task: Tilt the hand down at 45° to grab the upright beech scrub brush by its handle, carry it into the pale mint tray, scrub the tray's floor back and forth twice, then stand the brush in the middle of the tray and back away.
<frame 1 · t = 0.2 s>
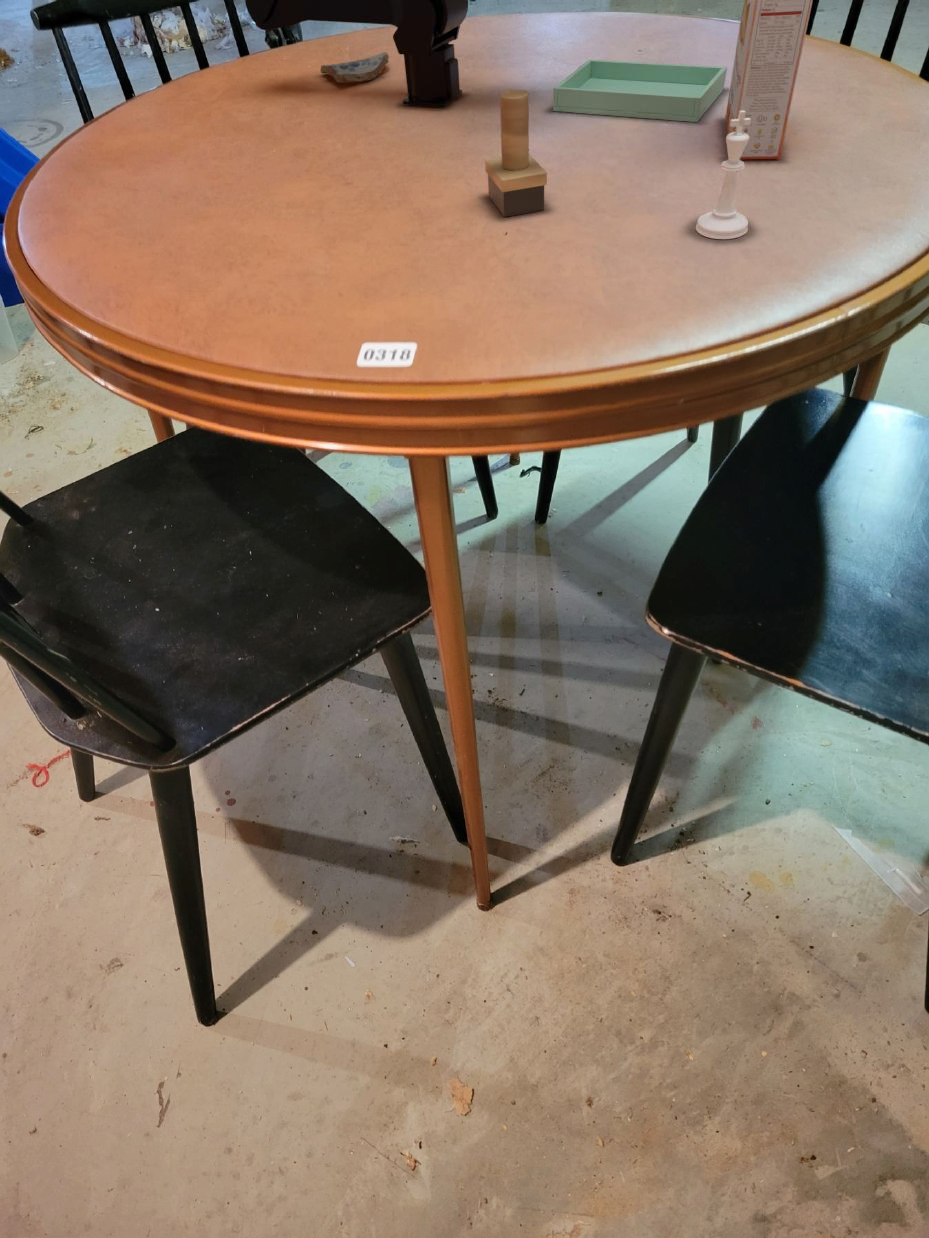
cracker box: (749, 141, 91), on the table
chess piece: (721, 231, 76), on the table
ceramic fragment: (360, 78, 119), on the table
scrub brush: (515, 203, 83), on the table
tray: (638, 100, 103), on the table
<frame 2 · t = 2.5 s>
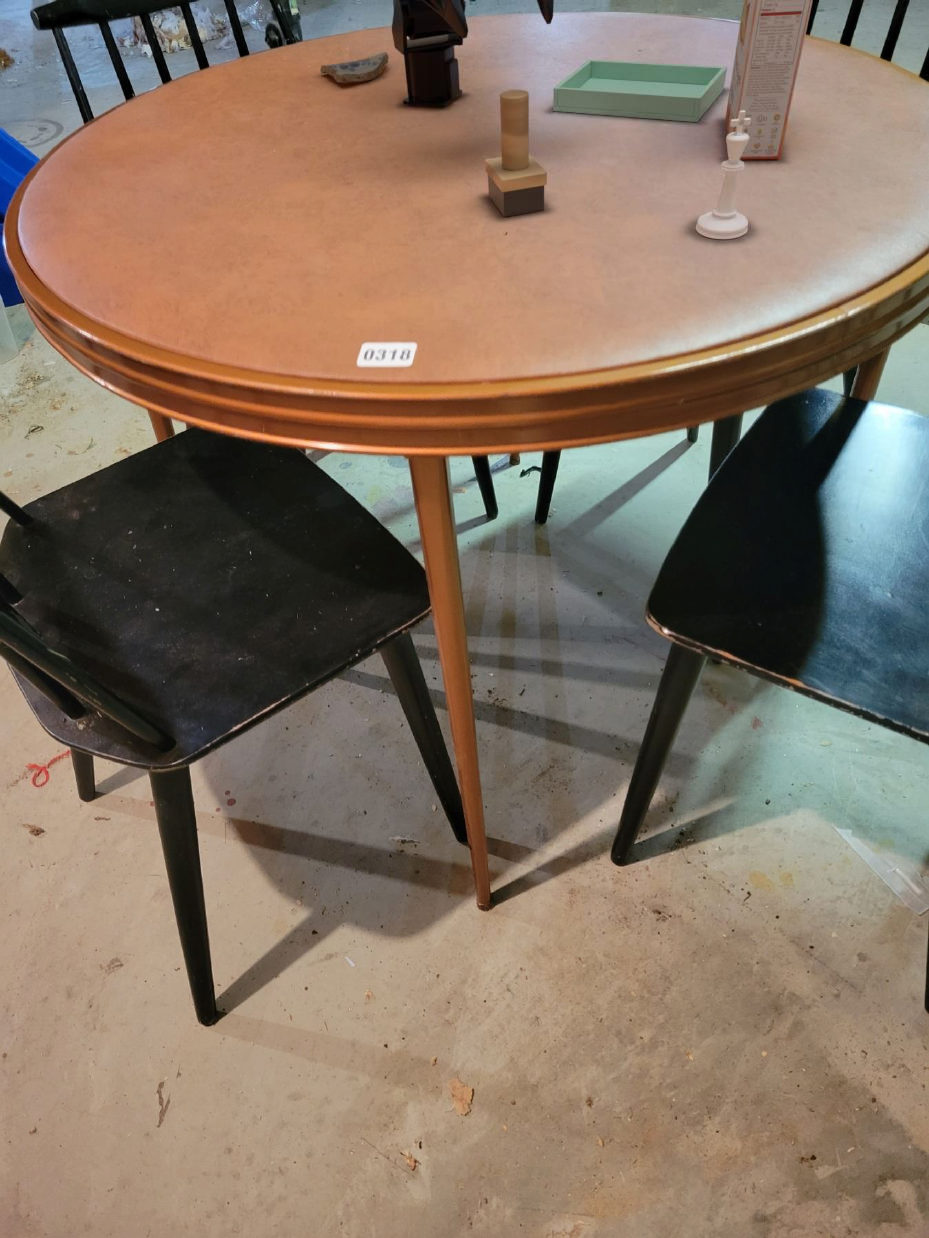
hand: (508, 28, 79), 14 cm above the table, tool tilted 50°, fingers open, 9 cm apart
nothing on the table moved.
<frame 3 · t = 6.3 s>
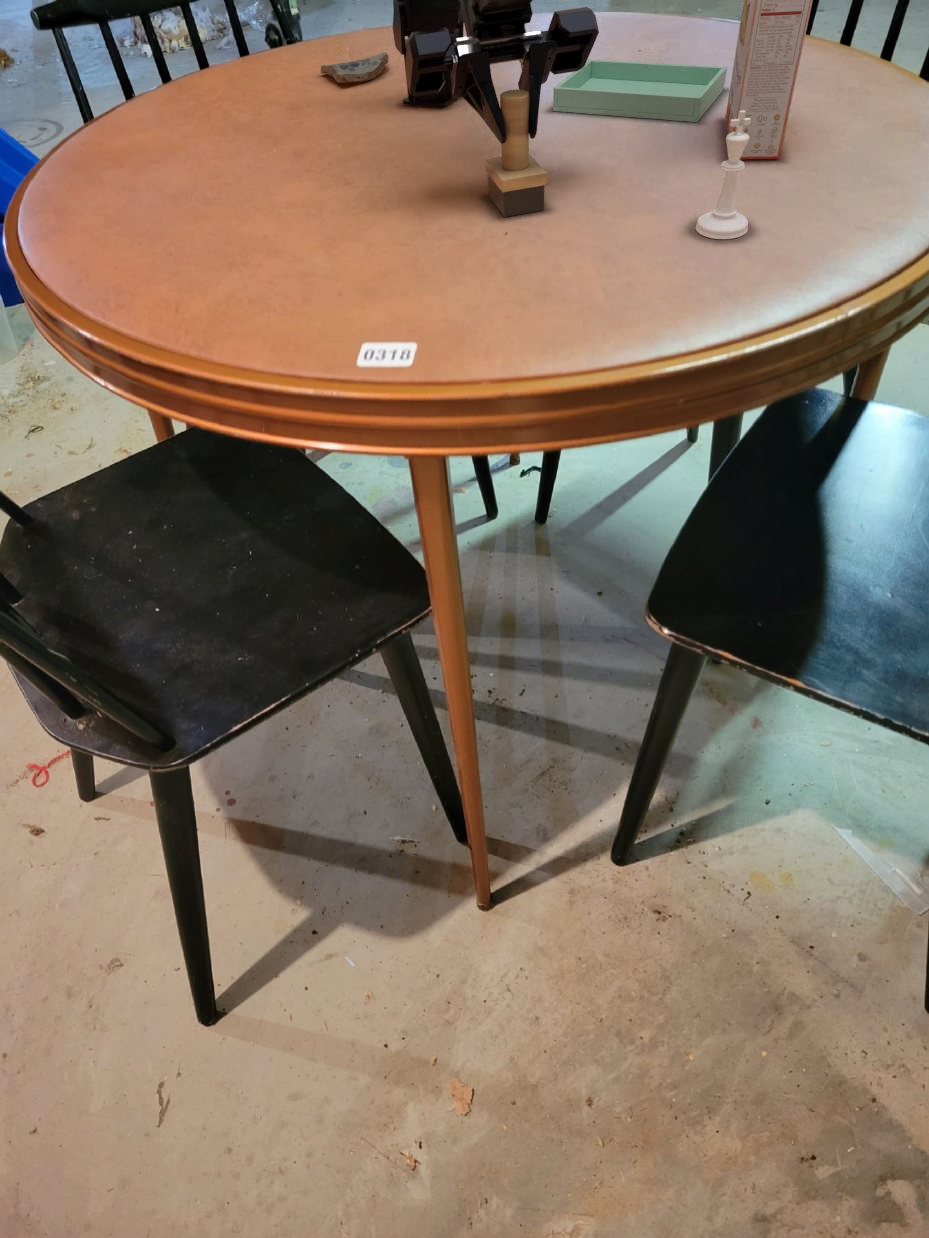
hand: (518, 139, 77), 7 cm above the table, tool tilted 45°, fingers closed on scrub brush, 3 cm apart
scrub brush: (515, 203, 83), on the table, touching gripper
everything else where it was.
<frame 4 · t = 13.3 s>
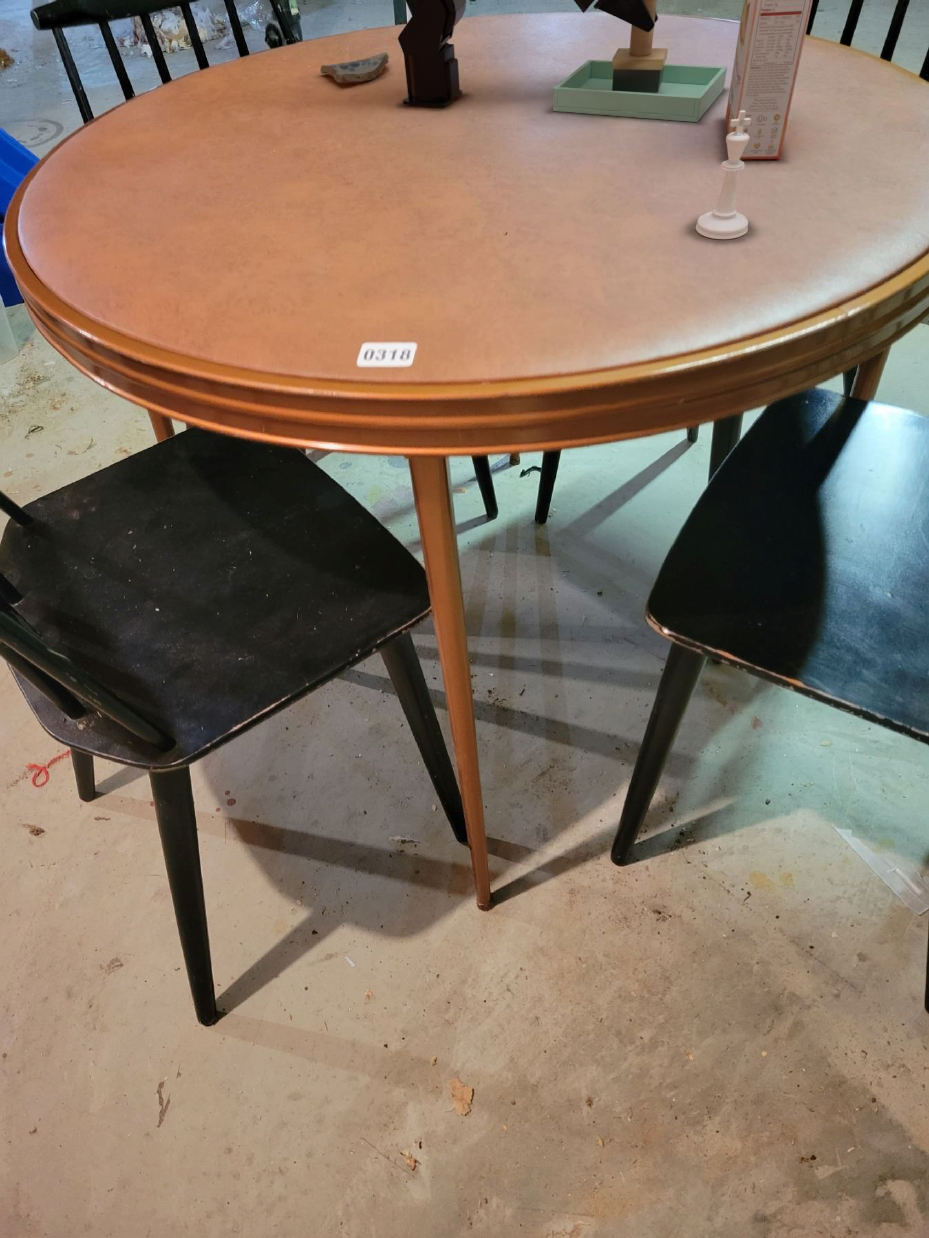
hand: (653, 26, 96), 8 cm above the table, tool tilted 45°, fingers closed on scrub brush, 3 cm apart
scrub brush: (637, 87, 102), point 2 cm above the table, touching gripper
everything else where it was.
when the fingers open (7 cm above the table, at t = 20.2 s): scrub brush stays where it is, resting on tray.
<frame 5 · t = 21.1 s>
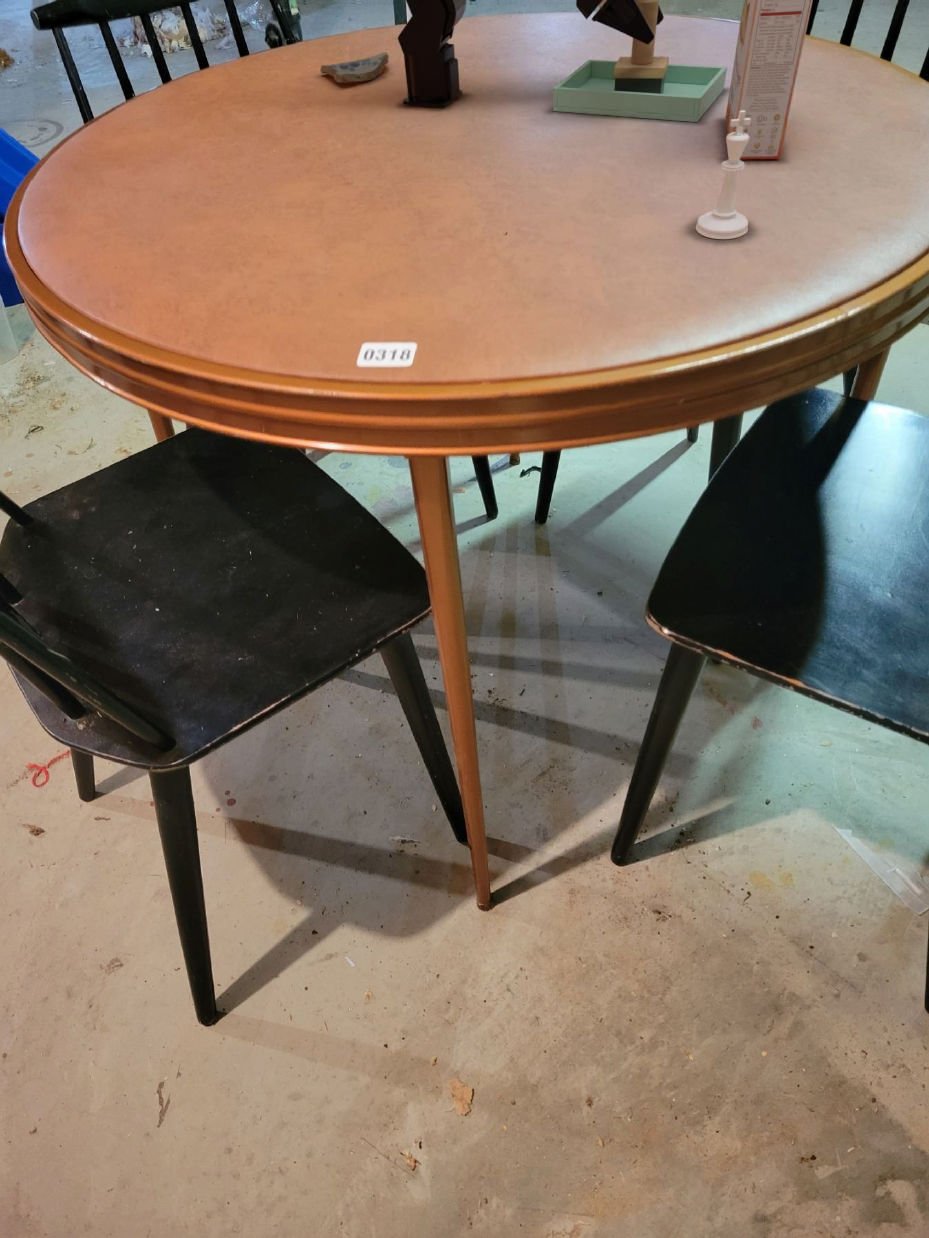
hand: (656, 31, 97), 8 cm above the table, tool tilted 45°, fingers open, 9 cm apart
scrub brush: (638, 95, 102), point 1 cm above the table, touching tray
everything else where it was.
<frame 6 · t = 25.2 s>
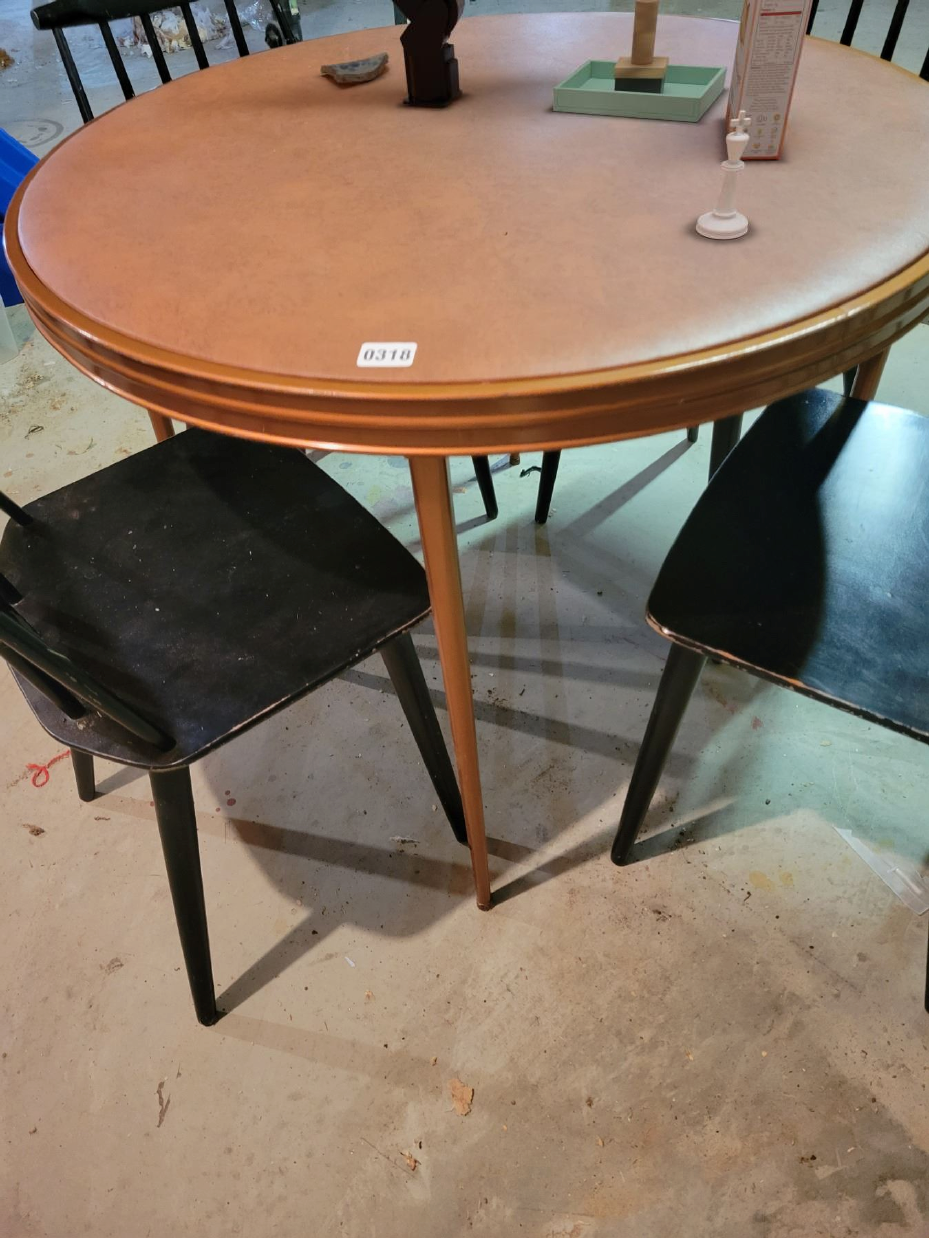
nothing on the table moved.
at the end: scrub brush inside the target area in the tray (0.0 cm from its centre), point 0.6 cm above the tray's base; scrub brush moved 36.1 cm from its start; scrub brush tilted 0° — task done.
